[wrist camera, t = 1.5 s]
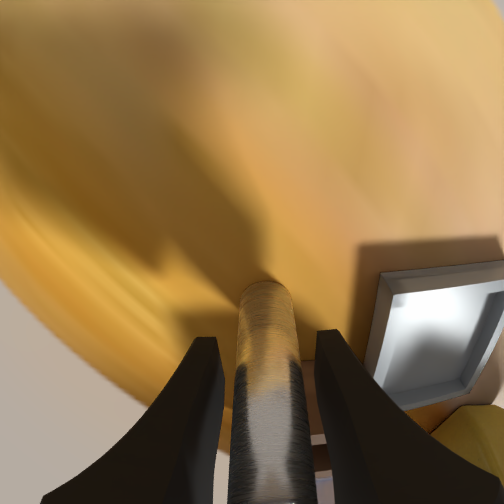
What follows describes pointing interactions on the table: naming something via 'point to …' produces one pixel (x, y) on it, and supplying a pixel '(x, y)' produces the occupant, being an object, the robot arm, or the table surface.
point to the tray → (434, 331)
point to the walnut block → (315, 423)
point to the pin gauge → (269, 405)
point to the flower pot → (476, 436)
